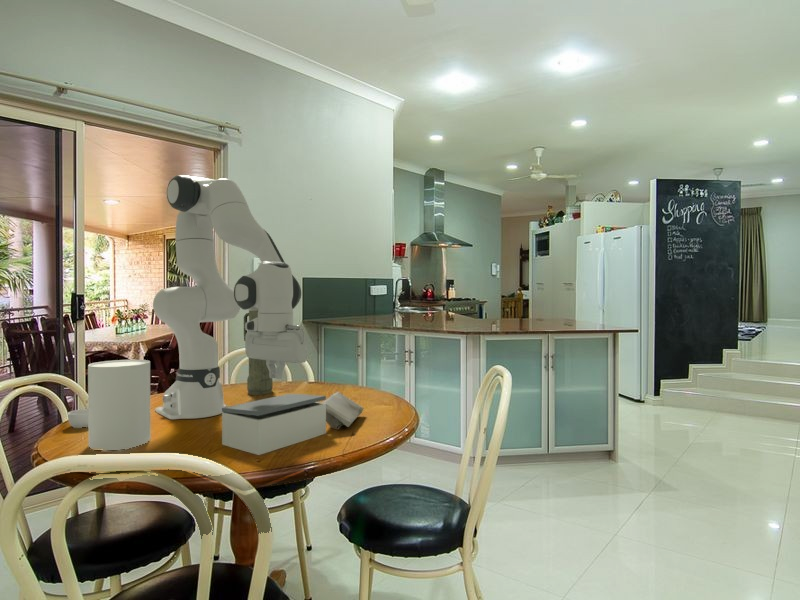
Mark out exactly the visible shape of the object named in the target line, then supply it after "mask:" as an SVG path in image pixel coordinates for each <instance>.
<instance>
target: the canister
mask: <svg viewBox="0 0 800 600" xmlns="http://www.w3.org/2000/svg"><path fill="white" fill-rule="evenodd" d="M87 384H88V385H87V395H88V396H87V398H88V399H87V400H88V401H87V404H88V406H87V407H88V408H87V409H88V427H87V428H88V435H87V436H88V448H89V447H90V448H92V449H103V450H118V451H121V450H120V449H125V450H129V448H131V449H133V448H132V447H135V448H137V447H136V446H138V447H140V446H139V445H141V446H143V445H142V444H144V445H145V443H146V444H147V443H149V442H150V441H151V437H152V436H151V435H152V433H151V361H150V360H148V359H147V360H146V359H119V360H118V359H115V360H104V361H98V362H92V363H91V362H90V363H88V365H87ZM148 441H149V442H148Z"/></svg>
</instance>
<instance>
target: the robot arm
mask: <svg viewBox="0 0 800 600" xmlns="http://www.w3.org/2000/svg"><path fill="white" fill-rule="evenodd" d="M166 199H167V202H168V203H169V205H170V207H171V208H173V209H174V210H177V211H178V213H177V215H176V221H175V231H174V232H175V236H174V238H175V252H176V253H175V255H176V258H175V259H176V266H177V268H178V270H179V271H180V272H181V273H183V274H184V275H186V276H188V277H190V278H191V279H192V280H193V282H194V283H195V285H196V286H171V287H167V288H162V289H160V290H159V291H158V292H157V293H156V294H155V296H154V298H153V302H152V309H153V312H154V314H155V315H156V317H157V319H159V321H161V322H163V323H164V324H166V326H168V327H169V329H170V330H171V331H172V332H173V335H174V336H175V338H176V340H177V341H176V342H177V346H178V354H179V356H178V357H179V367H178V369H175V371H176V372H175V374H176V377H175V381H174V383H173V384H171V386H169V388H167V389H166V390H165V391H164V394H163V395H162V402H163V405H161V406H158V407H156V408H155V409H154V412H155V413H157V414H159V415H161V416H163V417H165V418H167V419H168V420H180V419H181V420H182V419H187V420H188V419H189V420H190V419H202V418H209V417H214V416H217V415H222V408H223V407H228V406H227V404H225V401H224V400H225V398H224V390H223V384H222V382H221V381H220V380H219V379H220V378H221V368H220V366H219V344H218V341H217V340H216V339H215V338H214V337H213V336H211V335H209V334H208V333H206V332H203V330H202V329H201V325H200V323H214V322H217V323H218V322H224V321H229V320H231V319H234V318H236V317H237V315H238V314H239V313H240V310H241V309H242V310H245V311H248V312H249V311H258V317H257V318H255V319H253V320H251V321H249V320H247V322H246V323H245V330H247V333H246V337H245V341H244V346H245V350H244V351H245V355H246V356H247V358H248V359H249V358H253V359H262V360H266V365H267V367H268V370H269V377H270V378H272V379H275V380H280V379H282V378H283V371H284V369H285V368H286V365H287V363H290V364H302V363H306V362H307V360H308V357H309V356H308V355H309V354H308V345H307V344H308V343H307V338H306V332H305V330H304V329H303V327H301V325H294V309H295V308H296V307H297V306H298V304H299V303H300V302H301V301H300V300H301V299H302V289H301V288H302V287H301V285H300V283H299V282H298V279H296V277H295V276H294V275H293V274H292V269H291V267H290V265H289V264H288V263H286V262H285V261H284V259H283V257H282V255H281V253H280V251H279V249H278V247H277V245H276V243H275V241H274V240H273V238H272V237H271V236H270V234H269V233H268V232H267V230H265V229H264V228H263V227H262V226H261V225H260V224H259V223H258V222H257V220H256V219H255V217H254V216H253V214H252V212H251V210H250V207H249V205H248V202H247V199H246V198H245V195H244V194H243V191H242V190H241V188H240V187H239V186H238V184H237V182H235V181H233V180H232V179H229V178H225V177H224V178H218V179H213V178H209V177H206V178H205V177H199V176H190V175H185V174H179V175H175V176H173V177H172V178H171V180H169V182H168V185H167V189H166ZM213 230H214V231H213ZM214 232H215V234H216V235H217V237H218V238H219V239H220V240H222V241H223V242H225V244H228V245H231V246H234V247H237V248H240V249H242V250H245V251H247V252H249V253H251V254H253V255H255V256H256V257H257V258H258V259H259V260H260V263H259V264H258V266H257V268H256V269H255V270H254V271H252V272H250V273H249V274H246V275H242V276H240V278H238V280H236V283H235V285H234V287H233V288H232V287H230V285H228V284H227V282H226V281H225V280H224V278H223V277H222V276H221V273H220V271H219V269H218V266H217V262H216V253H215V241H214V240H215V239H214Z"/></svg>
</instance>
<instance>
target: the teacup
mask: <svg viewBox="0 0 800 600" xmlns="http://www.w3.org/2000/svg"><path fill="white" fill-rule="evenodd" d="M67 418H68V419H67V420H68V423H69V424H70V426H71V427H73V429H83V428H82V427H86V428H88V408H82V409H81V408H80V409H75V410H71V411H68V412H67Z"/></svg>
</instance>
